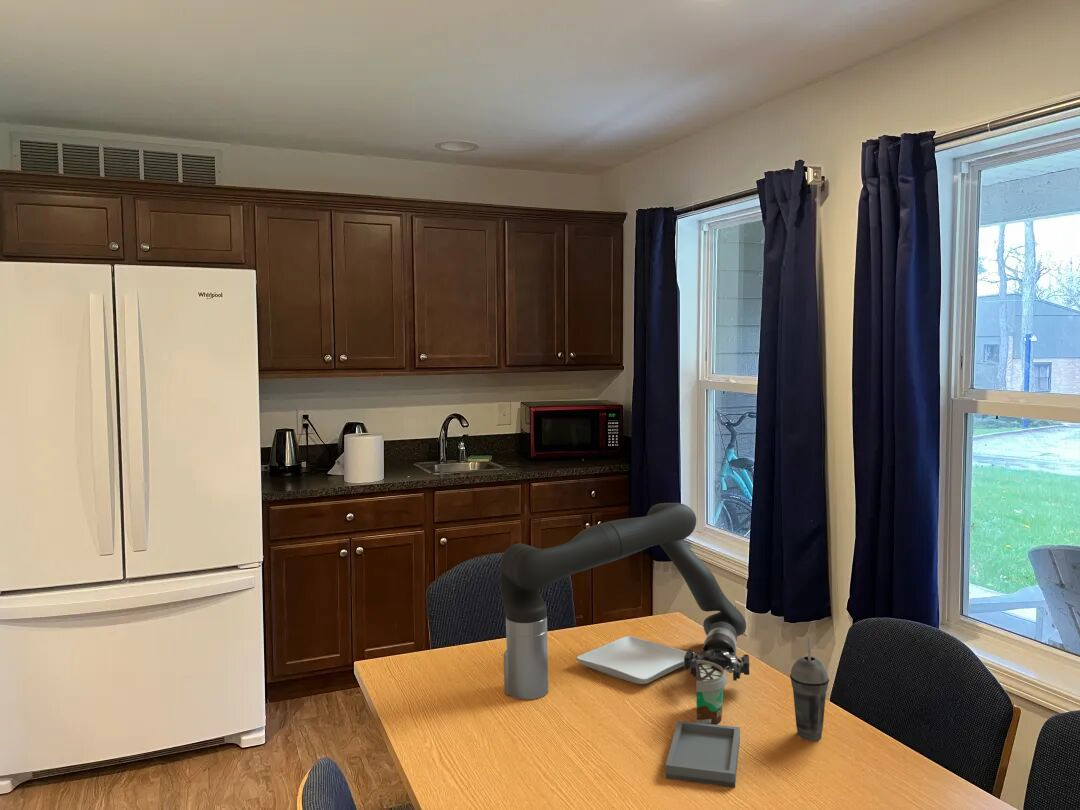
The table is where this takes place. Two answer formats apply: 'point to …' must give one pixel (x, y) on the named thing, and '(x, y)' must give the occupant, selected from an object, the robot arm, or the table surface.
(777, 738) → the table surface
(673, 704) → the table surface
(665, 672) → the salad plate
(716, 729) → the tray
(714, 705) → the food container
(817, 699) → the beverage cup
